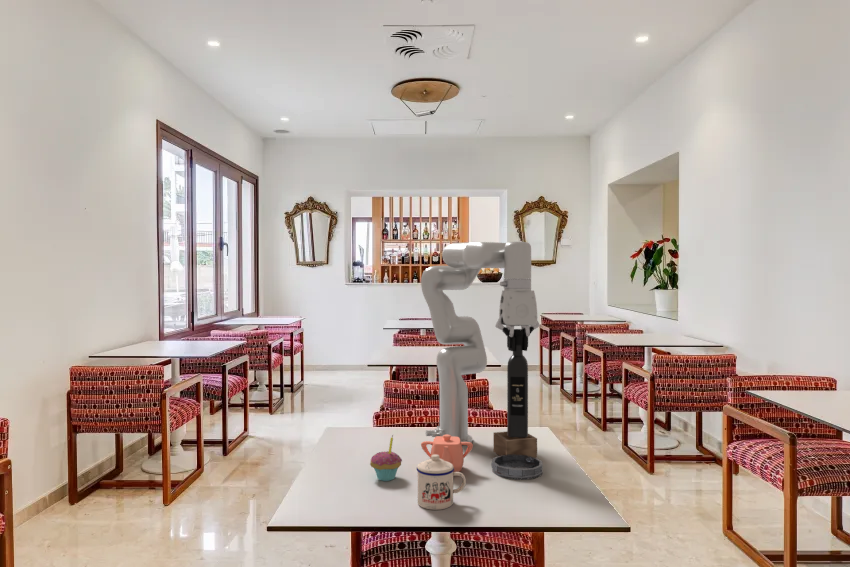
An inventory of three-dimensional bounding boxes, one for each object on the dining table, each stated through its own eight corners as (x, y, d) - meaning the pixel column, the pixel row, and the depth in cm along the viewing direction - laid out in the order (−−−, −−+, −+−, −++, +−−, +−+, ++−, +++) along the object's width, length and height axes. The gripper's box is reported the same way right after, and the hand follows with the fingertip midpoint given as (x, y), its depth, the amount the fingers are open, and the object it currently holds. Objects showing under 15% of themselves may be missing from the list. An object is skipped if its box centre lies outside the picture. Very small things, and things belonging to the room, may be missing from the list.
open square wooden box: (506, 461, 172) (506, 441, 171) (493, 451, 181) (493, 432, 181) (537, 458, 174) (537, 438, 174) (522, 448, 184) (522, 430, 184)
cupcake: (406, 474, 159) (406, 431, 159) (394, 485, 151) (394, 439, 151) (377, 471, 162) (377, 429, 162) (364, 481, 154) (364, 436, 154)
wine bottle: (527, 438, 159) (527, 330, 159) (507, 437, 160) (507, 330, 160) (527, 433, 165) (527, 328, 165) (507, 432, 166) (507, 328, 166)
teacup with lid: (418, 511, 134) (418, 461, 134) (414, 497, 143) (414, 450, 143) (469, 509, 135) (469, 460, 135) (462, 494, 144) (462, 448, 144)
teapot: (415, 467, 165) (415, 432, 165) (447, 460, 172) (447, 426, 172) (445, 482, 154) (445, 444, 154) (479, 473, 161) (479, 437, 161)
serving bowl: (504, 481, 154) (504, 472, 154) (484, 465, 167) (484, 456, 167) (551, 476, 158) (551, 467, 158) (528, 461, 171) (528, 452, 171)
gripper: (496, 285, 156) (496, 353, 156) (550, 285, 161) (550, 351, 161) (485, 285, 163) (485, 350, 164) (537, 285, 168) (537, 348, 168)
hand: (517, 349), depth 162 cm, fingers closed on wine bottle, 3 cm apart
